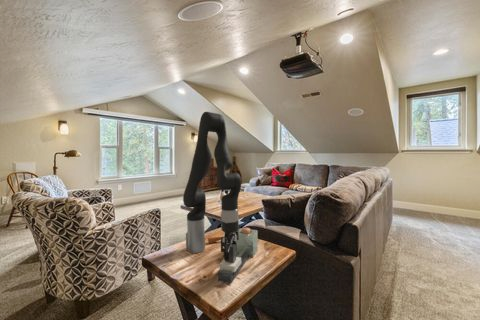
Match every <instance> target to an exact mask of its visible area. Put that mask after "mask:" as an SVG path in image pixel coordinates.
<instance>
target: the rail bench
mask: <svg viewBox="0 0 480 320" xmlns="http://www.w3.org/2000/svg"><path fill="white" fill-rule="evenodd" d="M243 228H244V227H242V228H241V227H239V229H238V231H239V240H237V251H236V257H240V258H241V264H240V266H239V267H238V268H237V270H236V271H235V272H233V273H232V272H230V271H224V270H220V269H218V270H217V281H219V282H223V283H226V284H232V283H233V282H234V280H235V278H237V276H238V275H239V273H240V271H241V270H242V268H243V267H244V266H245V264H246V263H247V261H248V260H249V258H254V257H255V255H257V252H258V243H259V242H258V241H259V239H258V230H257V229H251V228H250V234H243V233H242V229H243ZM236 236H237V235H236Z"/></svg>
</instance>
